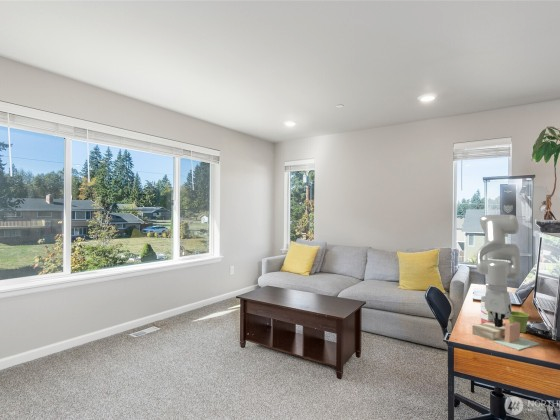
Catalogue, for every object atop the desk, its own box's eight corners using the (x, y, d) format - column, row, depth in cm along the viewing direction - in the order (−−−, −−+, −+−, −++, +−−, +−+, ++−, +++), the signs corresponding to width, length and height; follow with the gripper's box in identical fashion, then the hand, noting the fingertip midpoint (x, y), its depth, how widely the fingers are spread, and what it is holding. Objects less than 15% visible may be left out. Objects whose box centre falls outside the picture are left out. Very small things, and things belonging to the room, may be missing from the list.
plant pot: (502, 329, 159) (502, 312, 160) (513, 326, 163) (513, 310, 164) (522, 335, 151) (522, 317, 151) (534, 332, 155) (533, 315, 155)
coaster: (515, 321, 146) (520, 323, 144) (514, 338, 146) (519, 340, 144) (505, 324, 142) (510, 325, 141) (504, 341, 143) (509, 343, 141)
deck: (490, 329, 159) (490, 321, 159) (511, 336, 150) (511, 327, 150) (472, 333, 153) (472, 325, 153) (493, 341, 144) (493, 332, 144)
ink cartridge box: (488, 326, 164) (488, 298, 164) (480, 323, 169) (480, 296, 169) (502, 325, 166) (501, 297, 166) (493, 322, 171) (493, 295, 171)
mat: (513, 336, 150) (513, 335, 150) (539, 344, 140) (539, 343, 140) (493, 341, 143) (493, 340, 143) (518, 350, 134) (518, 349, 134)
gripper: (477, 285, 154) (478, 323, 154) (509, 292, 141) (510, 332, 140) (486, 284, 157) (487, 321, 157) (519, 290, 144) (520, 330, 143)
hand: (498, 326), depth 148 cm, fingers closed
